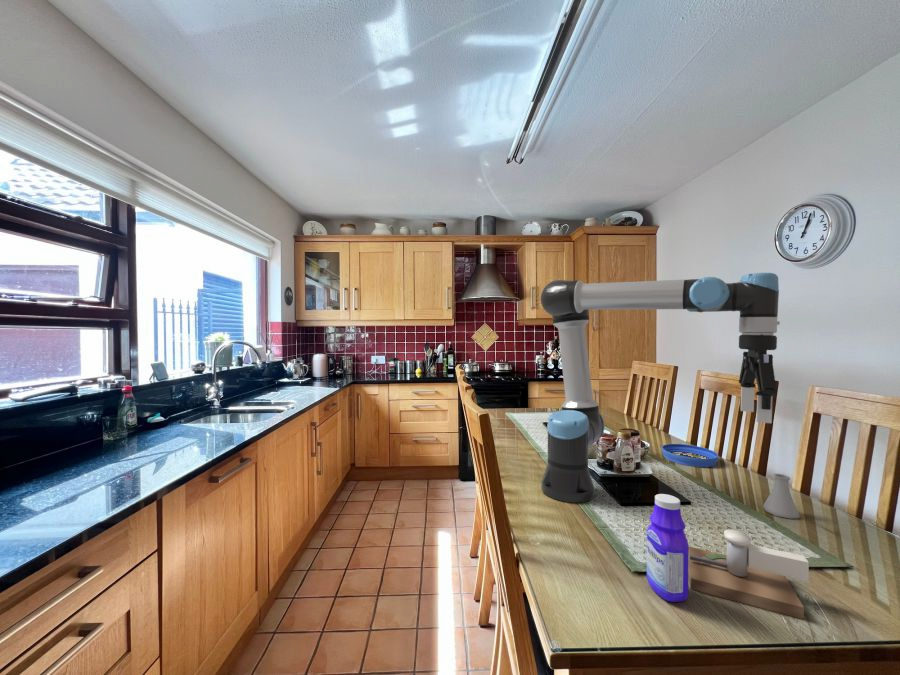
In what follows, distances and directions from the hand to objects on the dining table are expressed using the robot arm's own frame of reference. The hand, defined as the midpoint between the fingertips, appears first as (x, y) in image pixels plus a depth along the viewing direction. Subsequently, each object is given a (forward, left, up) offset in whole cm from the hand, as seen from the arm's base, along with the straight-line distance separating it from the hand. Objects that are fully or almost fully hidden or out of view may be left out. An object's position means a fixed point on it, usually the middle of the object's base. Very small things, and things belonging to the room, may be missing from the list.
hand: (754, 416), depth 96 cm
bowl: (-10, +45, -27) cm, 53 cm away
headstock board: (-10, -33, -26) cm, 43 cm away
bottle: (-22, -42, -27) cm, 54 cm away
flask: (+7, +7, -27) cm, 29 cm away
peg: (-8, -33, -24) cm, 42 cm away
